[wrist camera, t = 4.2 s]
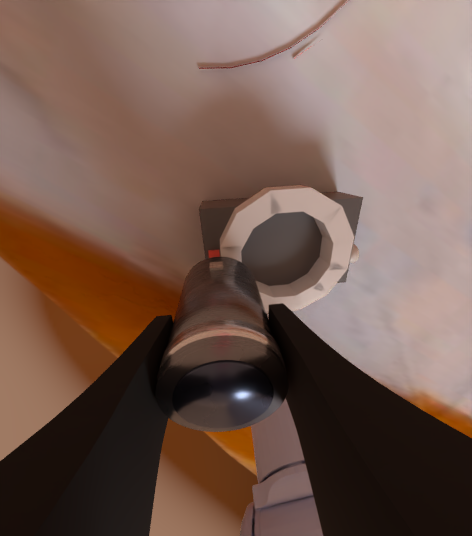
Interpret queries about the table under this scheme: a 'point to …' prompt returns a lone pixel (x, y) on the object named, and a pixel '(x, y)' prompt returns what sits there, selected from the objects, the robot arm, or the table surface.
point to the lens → (221, 352)
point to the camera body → (286, 240)
